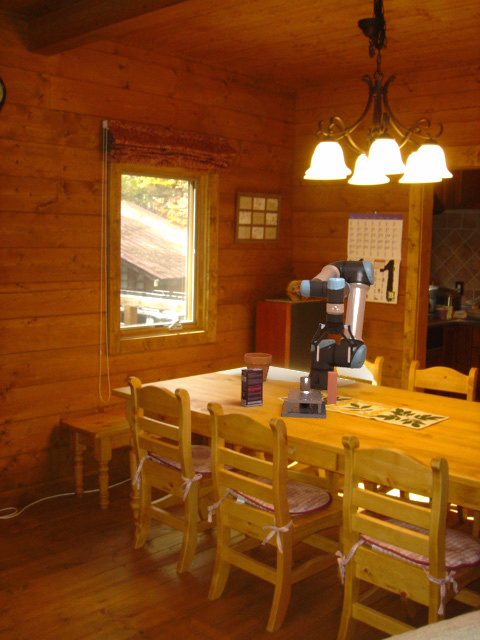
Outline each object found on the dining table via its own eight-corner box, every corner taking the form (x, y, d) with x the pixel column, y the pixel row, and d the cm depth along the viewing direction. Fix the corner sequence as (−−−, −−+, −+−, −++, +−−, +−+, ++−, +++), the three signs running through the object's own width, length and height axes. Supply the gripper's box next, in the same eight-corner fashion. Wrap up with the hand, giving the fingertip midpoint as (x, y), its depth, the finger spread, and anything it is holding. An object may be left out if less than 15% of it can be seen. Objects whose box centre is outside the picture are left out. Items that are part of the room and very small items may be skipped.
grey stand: (281, 416, 297) (282, 385, 296) (283, 403, 321) (284, 374, 319) (326, 418, 296) (327, 387, 294) (325, 405, 319) (326, 376, 318)
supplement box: (256, 403, 320) (257, 367, 319) (262, 405, 316) (263, 369, 314) (240, 405, 316) (240, 369, 314) (245, 407, 312) (246, 370, 310)
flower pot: (245, 376, 380) (246, 352, 379) (272, 378, 378) (273, 353, 377) (241, 382, 366) (242, 356, 365) (270, 383, 364) (270, 357, 363)
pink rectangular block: (327, 404, 321) (328, 373, 319) (326, 402, 325) (328, 371, 323) (336, 404, 320) (337, 373, 319) (336, 402, 324) (337, 371, 323)
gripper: (306, 313, 315) (304, 361, 318) (364, 315, 313) (362, 363, 315) (306, 311, 323) (304, 358, 325) (363, 313, 321) (361, 361, 323)
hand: (333, 361), depth 320 cm, fingers open, 13 cm apart
